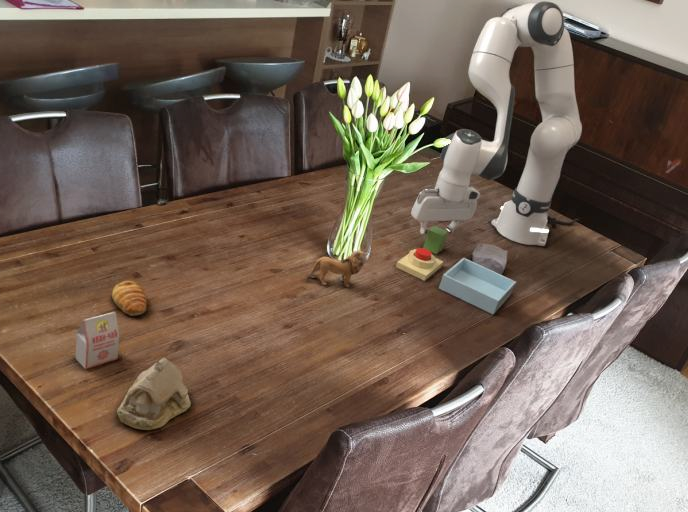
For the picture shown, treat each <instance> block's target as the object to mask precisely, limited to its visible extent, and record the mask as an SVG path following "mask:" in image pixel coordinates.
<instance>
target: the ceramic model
mask: <svg viewBox="0 0 688 512" xmlns="http://www.w3.org/2000/svg"><path fill="white" fill-rule="evenodd" d="M183 382H184V377H183V375H182V372H181V371H180V370H179V368H178V366H177V365H176V364H174V363H172V362H171V361H170V360H168V358H166V357H162V358H161V359H160V360H158V361H156V362H155V363H154V364H153V365H151V366H150V367H149V368H148V369H146V370H143V371H142V372H141V373H140V374H139V375H138V376H137V378H136V379H135V380H134V383H133V384H132V386H130V388H129V389H128V390H127V393H126V394H125V396H124V399H123V400H122V402H121V404H120V405H119V407H118V408H117V410H116V414H117V416H118V419H119V421H120V422H121V423H122V424H124V425H127V426H128V427H131V428H133V429H137V430H145V431H151V430H156V429H159V428H162V427H164V426H165V425H167V423H168V422H169V421H170V420H171V419H173V418H175V417H177V416H178V415H180V414H182V413H184V412H187V410H188V409H189V408H190V407H191V404H192V403H191V399H190V396H189V389H188V387H187V386H186V385H185V384H184V383H183Z"/></svg>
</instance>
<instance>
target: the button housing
mask: <svg viewBox="0 0 688 512" xmlns="http://www.w3.org/2000/svg"><path fill="white" fill-rule="evenodd" d="M416 249H417V248H413V249H411V250H410V251H409V252H408V254H406V255H404V256H403V257H402V258H400V259H399V260H398V261H397V262H396V264H395V268H397V269H399V270H401V271H403V272H405V273H407V274H409V275H411V276H413V277H416V278H418V279H420V280H422V281H424V282H425V281H427V279H429V278H430V277H432V276H433V275H434V274H435V273H436V272H437V271H439V270H440V269H441V268H442V267H443V265H444V261H443V260H441V259H438V258H437V257H435V255H433V254H432V255H431V258H430V260H429V261H423V260H420V259H418V258H416V257H415V252H416Z"/></svg>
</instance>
